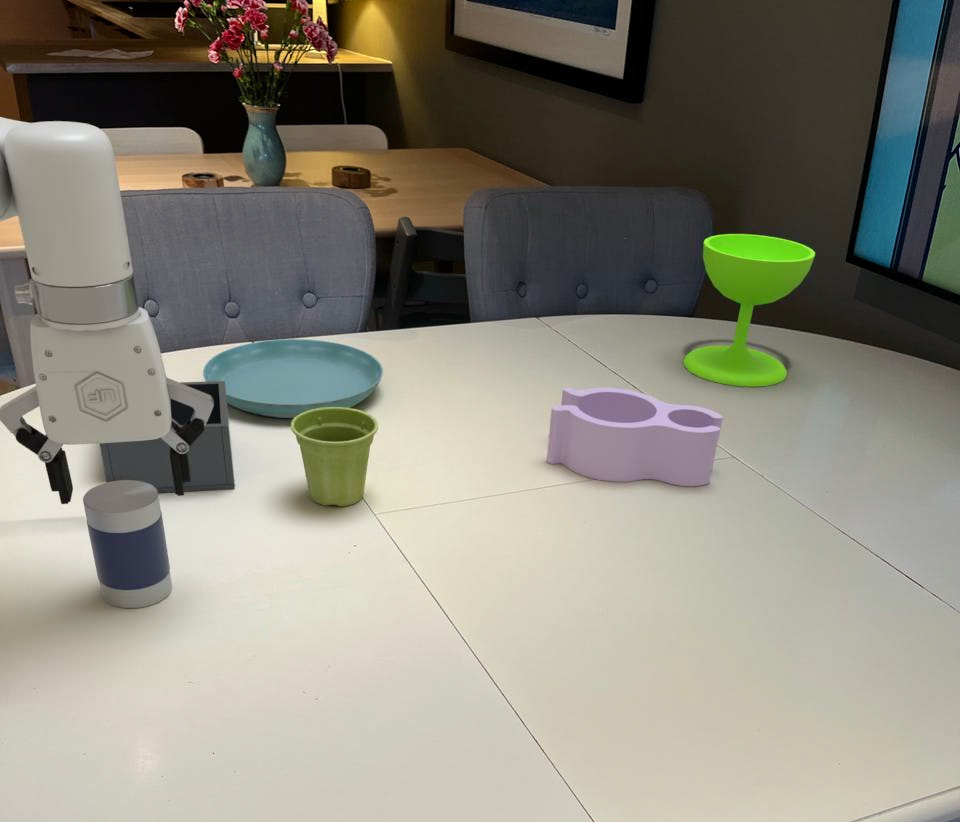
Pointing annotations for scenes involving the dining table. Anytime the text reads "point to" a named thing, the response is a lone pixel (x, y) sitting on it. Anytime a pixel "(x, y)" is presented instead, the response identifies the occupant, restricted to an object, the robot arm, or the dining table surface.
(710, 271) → the wineglass
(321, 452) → the plant pot
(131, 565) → the tin can
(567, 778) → the dining table surface
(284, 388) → the teal plate
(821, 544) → the dining table surface
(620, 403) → the clip
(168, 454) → the open box
